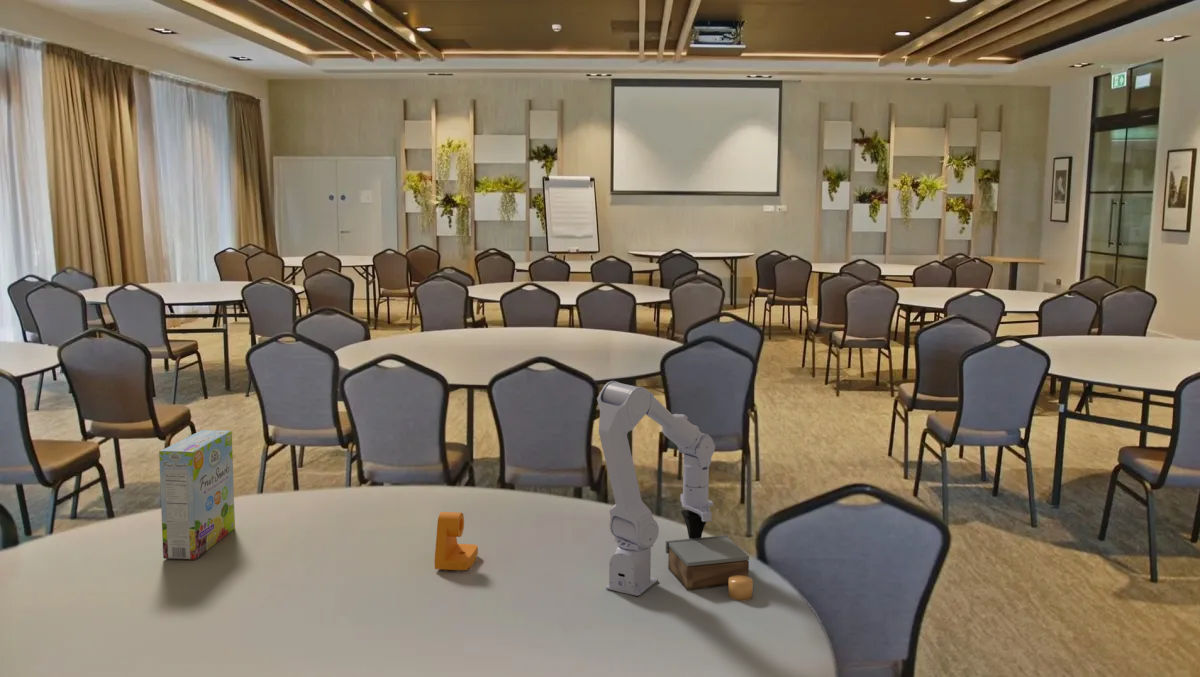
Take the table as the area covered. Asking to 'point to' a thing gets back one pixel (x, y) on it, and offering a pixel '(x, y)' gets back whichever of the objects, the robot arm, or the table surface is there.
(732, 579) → the orange rounded block
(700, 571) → the box
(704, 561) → the lid
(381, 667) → the table surface
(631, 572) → the robot arm
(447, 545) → the bracket
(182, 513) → the snack box
